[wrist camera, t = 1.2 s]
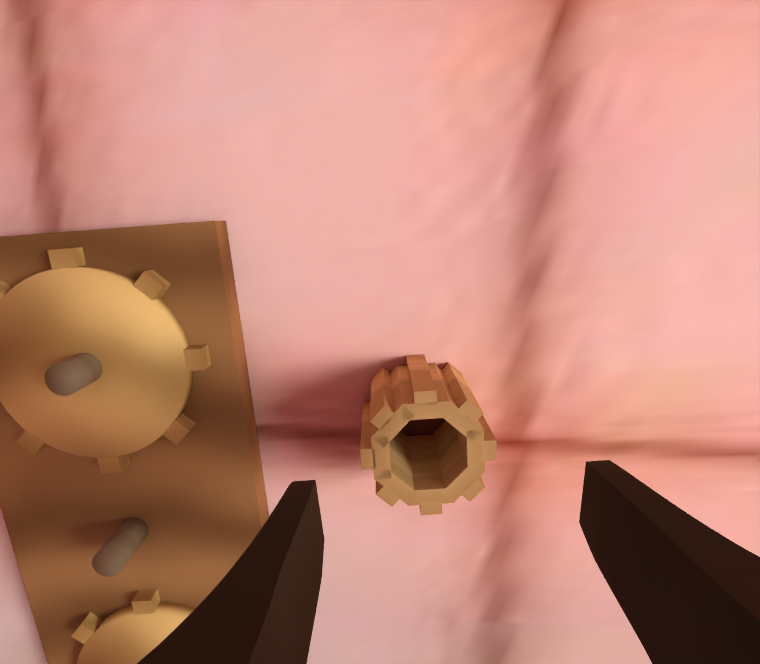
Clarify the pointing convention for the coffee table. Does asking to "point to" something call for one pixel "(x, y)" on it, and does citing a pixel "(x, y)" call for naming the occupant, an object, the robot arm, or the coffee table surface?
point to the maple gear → (425, 436)
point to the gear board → (124, 431)
